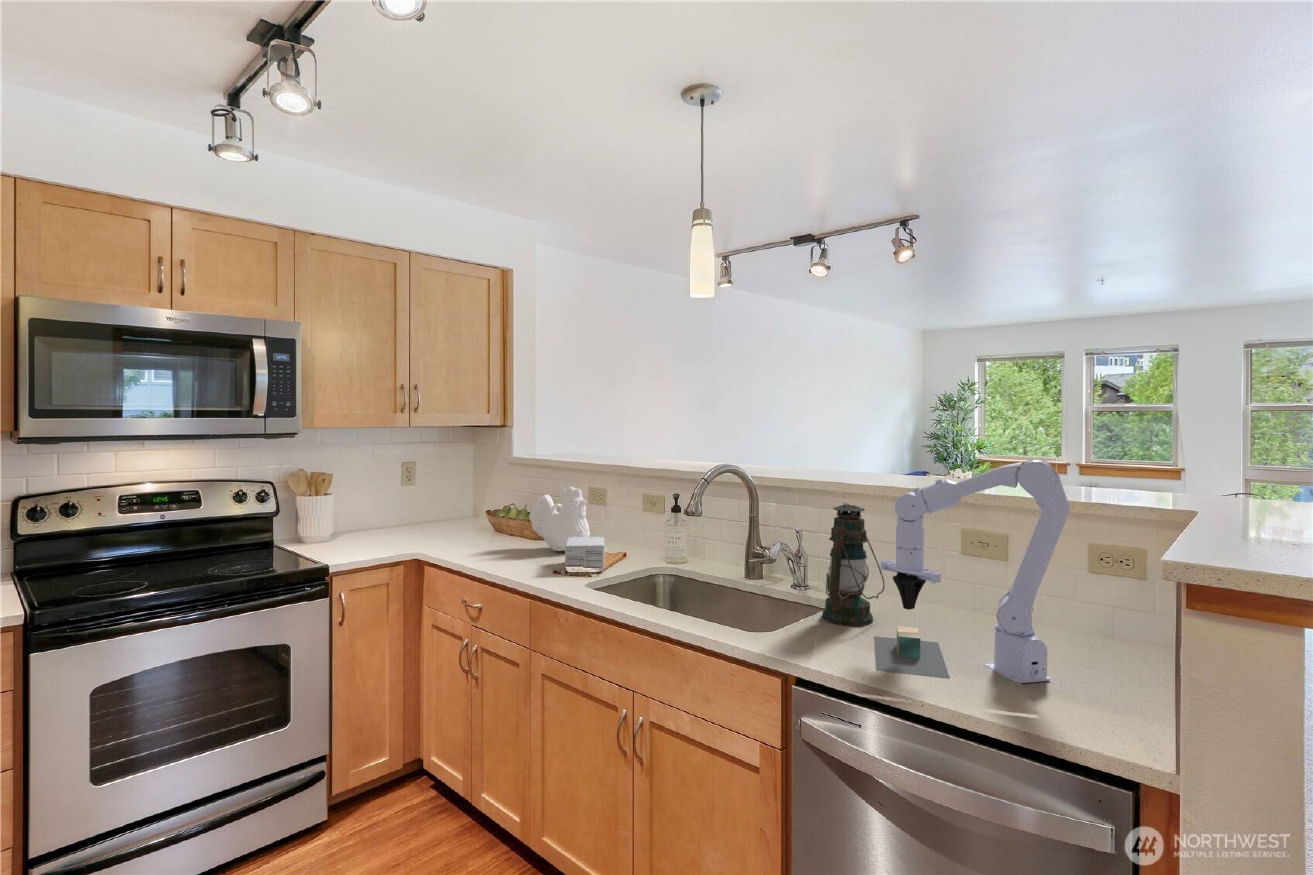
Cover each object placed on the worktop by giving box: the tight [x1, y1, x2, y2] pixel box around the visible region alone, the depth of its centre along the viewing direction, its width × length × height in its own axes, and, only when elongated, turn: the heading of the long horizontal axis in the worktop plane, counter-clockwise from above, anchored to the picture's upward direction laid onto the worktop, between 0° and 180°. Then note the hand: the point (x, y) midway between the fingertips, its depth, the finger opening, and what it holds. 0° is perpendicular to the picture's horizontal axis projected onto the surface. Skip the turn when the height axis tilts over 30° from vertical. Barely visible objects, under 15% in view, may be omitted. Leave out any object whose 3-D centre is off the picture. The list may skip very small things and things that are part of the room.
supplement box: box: [564, 536, 605, 570], centre depth 229 cm, size 17×13×9 cm
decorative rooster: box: [528, 486, 591, 552], centre depth 259 cm, size 25×16×25 cm, turn 56°
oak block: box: [896, 625, 921, 659], centre depth 147 cm, size 4×4×8 cm
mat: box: [873, 635, 951, 680], centre depth 145 cm, size 22×14×1 cm, turn 163°
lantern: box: [821, 502, 886, 627], centre depth 172 cm, size 19×14×30 cm
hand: (908, 608), depth 147 cm, fingers closed
